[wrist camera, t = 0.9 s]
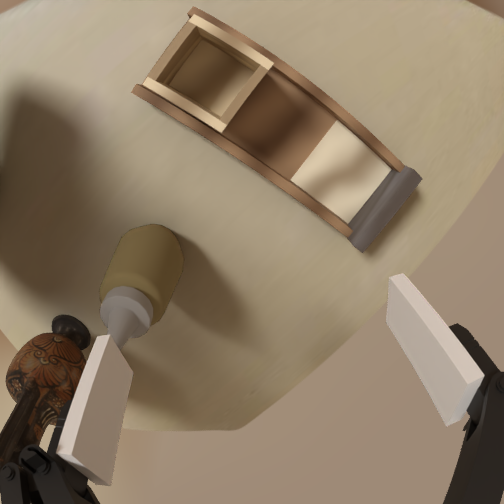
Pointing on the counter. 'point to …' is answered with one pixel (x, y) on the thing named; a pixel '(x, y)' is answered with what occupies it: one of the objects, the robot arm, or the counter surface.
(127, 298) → the squeeze bottle
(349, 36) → the counter surface
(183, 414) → the counter surface
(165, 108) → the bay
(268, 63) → the crate
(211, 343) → the counter surface
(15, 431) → the vase
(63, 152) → the counter surface
